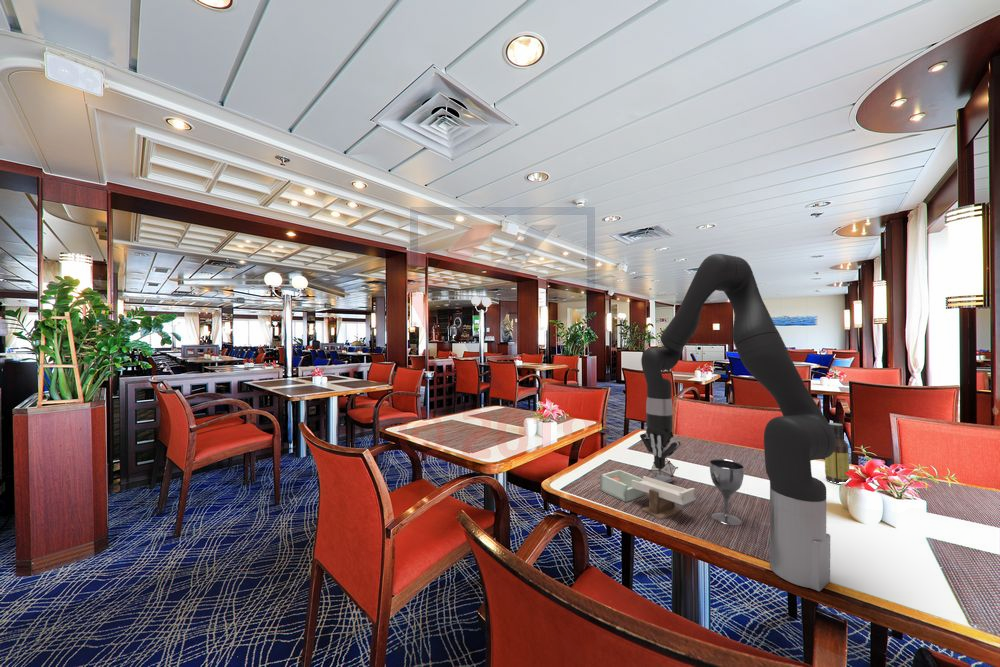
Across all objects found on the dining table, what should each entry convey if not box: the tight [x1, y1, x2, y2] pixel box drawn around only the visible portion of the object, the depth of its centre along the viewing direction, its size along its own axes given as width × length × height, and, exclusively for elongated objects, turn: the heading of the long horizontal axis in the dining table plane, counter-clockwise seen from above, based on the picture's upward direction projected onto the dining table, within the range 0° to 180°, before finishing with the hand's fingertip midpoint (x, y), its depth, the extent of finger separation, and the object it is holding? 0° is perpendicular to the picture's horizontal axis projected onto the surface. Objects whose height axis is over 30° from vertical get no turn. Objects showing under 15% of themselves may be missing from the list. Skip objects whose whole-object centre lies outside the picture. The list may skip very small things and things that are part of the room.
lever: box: [632, 475, 697, 510], centre depth 107 cm, size 16×14×4 cm
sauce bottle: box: [824, 422, 850, 483], centre depth 126 cm, size 6×6×20 cm
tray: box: [599, 469, 646, 503], centre depth 117 cm, size 10×9×5 cm
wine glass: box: [709, 458, 745, 526], centre depth 100 cm, size 8×8×15 cm
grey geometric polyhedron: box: [648, 456, 679, 478], centre depth 126 cm, size 9×8×10 cm
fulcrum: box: [641, 489, 683, 521], centre depth 105 cm, size 6×10×6 cm, turn 122°
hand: (659, 468), depth 114 cm, fingers closed
